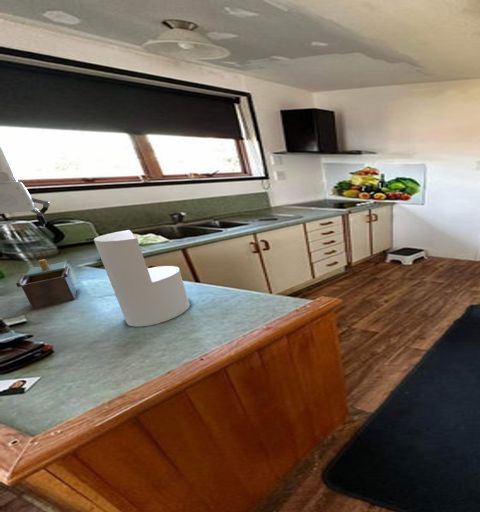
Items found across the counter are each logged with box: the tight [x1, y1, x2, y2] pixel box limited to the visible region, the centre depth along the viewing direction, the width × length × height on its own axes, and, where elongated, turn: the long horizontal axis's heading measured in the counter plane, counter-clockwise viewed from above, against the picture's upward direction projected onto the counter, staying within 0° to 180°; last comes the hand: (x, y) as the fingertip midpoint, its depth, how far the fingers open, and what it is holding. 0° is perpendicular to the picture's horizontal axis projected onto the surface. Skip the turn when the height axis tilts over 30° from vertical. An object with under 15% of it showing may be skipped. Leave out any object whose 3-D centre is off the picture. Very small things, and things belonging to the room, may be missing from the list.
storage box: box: [15, 265, 77, 311], centre depth 103 cm, size 12×12×11 cm
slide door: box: [25, 259, 68, 277], centre depth 107 cm, size 10×11×5 cm
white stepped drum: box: [93, 229, 191, 327], centre depth 89 cm, size 17×17×28 cm
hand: (22, 228), depth 95 cm, fingers open, 9 cm apart
